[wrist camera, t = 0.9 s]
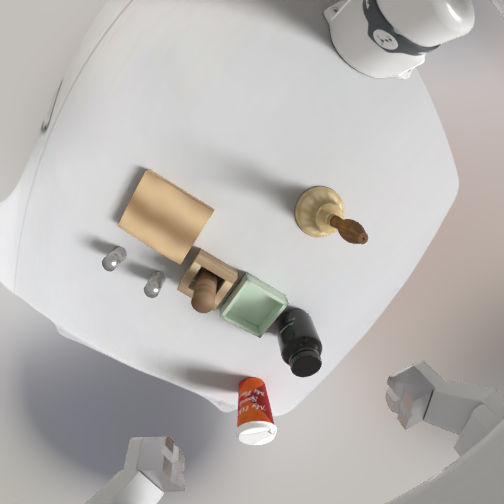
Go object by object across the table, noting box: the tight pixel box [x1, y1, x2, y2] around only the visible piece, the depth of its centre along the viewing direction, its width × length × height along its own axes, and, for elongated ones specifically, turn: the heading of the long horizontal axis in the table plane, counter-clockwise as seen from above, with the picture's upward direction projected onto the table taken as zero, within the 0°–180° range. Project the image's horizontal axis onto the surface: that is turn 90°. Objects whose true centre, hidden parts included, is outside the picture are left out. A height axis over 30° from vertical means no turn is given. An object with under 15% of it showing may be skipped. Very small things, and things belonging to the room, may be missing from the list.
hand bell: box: [295, 186, 368, 244], centre depth 35 cm, size 8×8×16 cm
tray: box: [220, 272, 289, 338], centre depth 46 cm, size 8×8×3 cm
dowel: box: [191, 268, 218, 313], centre depth 41 cm, size 3×3×9 cm
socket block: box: [177, 249, 238, 310], centre depth 44 cm, size 7×7×3 cm
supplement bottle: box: [276, 309, 322, 377], centre depth 44 cm, size 7×7×12 cm
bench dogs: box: [102, 247, 166, 298], centre depth 41 cm, size 2×10×5 cm, turn 56°
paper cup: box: [236, 378, 277, 445], centre depth 48 cm, size 8×8×14 cm
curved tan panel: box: [118, 170, 214, 265], centre depth 41 cm, size 10×12×2 cm
